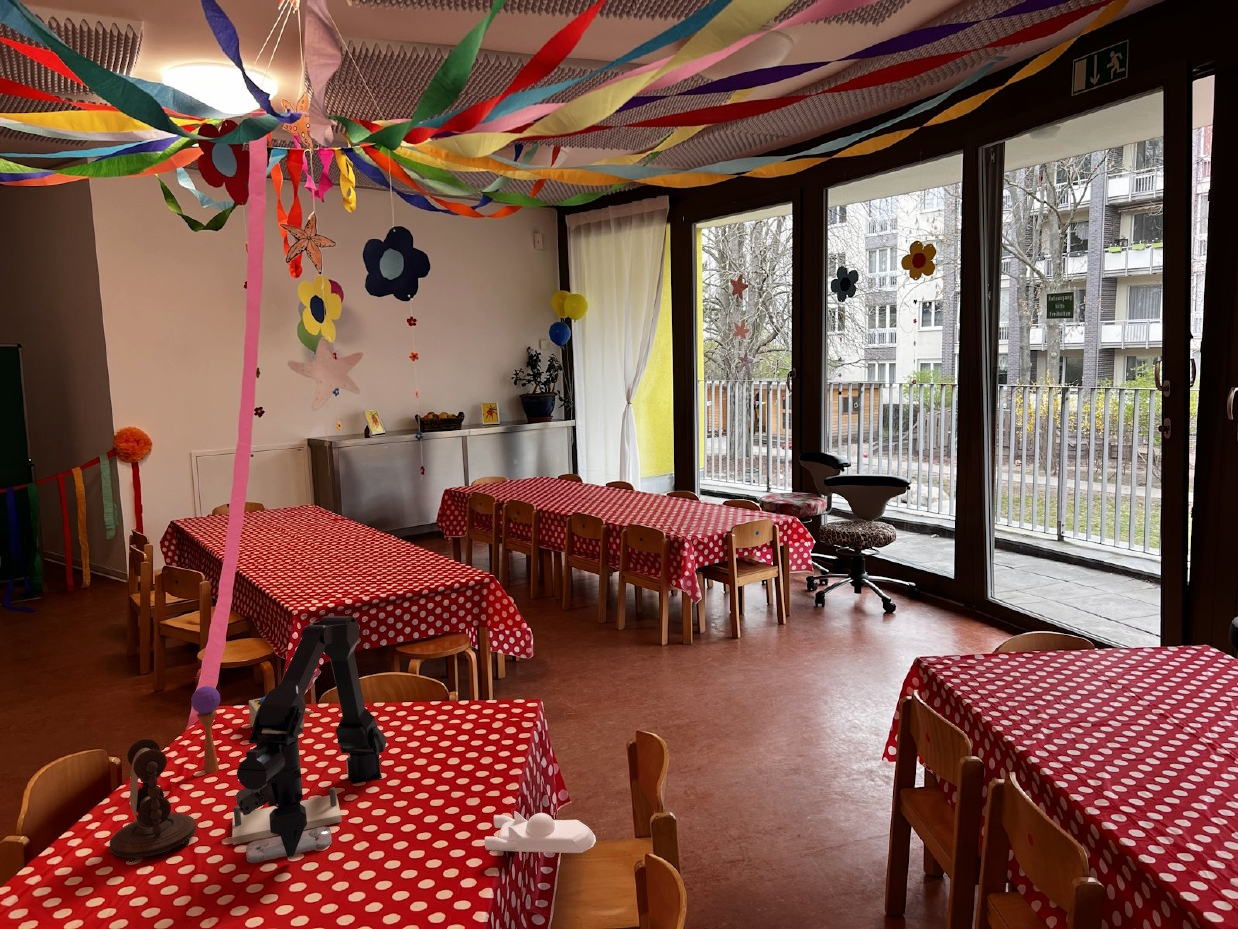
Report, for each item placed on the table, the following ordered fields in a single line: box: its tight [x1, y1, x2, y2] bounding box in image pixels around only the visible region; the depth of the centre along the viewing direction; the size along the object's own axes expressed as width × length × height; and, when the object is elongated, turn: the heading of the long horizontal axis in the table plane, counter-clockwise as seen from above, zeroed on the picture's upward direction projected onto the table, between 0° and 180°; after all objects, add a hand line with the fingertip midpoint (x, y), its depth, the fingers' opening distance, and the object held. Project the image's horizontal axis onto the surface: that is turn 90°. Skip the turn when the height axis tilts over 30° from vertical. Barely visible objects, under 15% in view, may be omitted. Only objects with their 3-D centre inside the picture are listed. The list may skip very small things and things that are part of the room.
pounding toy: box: [248, 696, 314, 734], centre depth 233 cm, size 18×17×8 cm
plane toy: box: [484, 810, 597, 854], centre depth 168 cm, size 10×20×6 cm, turn 86°
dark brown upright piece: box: [109, 738, 197, 863], centre depth 171 cm, size 15×15×20 cm
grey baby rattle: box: [245, 826, 332, 864], centre depth 168 cm, size 15×4×2 cm, turn 113°
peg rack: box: [231, 787, 342, 845], centre depth 179 cm, size 20×10×5 cm, turn 113°
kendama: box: [190, 685, 221, 773], centre depth 203 cm, size 6×6×20 cm
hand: (289, 845), depth 168 cm, fingers open, 9 cm apart
